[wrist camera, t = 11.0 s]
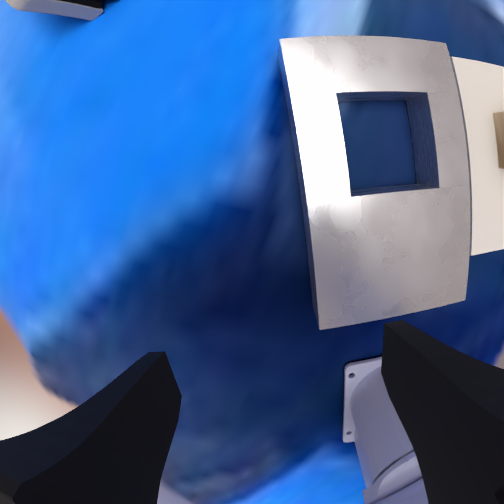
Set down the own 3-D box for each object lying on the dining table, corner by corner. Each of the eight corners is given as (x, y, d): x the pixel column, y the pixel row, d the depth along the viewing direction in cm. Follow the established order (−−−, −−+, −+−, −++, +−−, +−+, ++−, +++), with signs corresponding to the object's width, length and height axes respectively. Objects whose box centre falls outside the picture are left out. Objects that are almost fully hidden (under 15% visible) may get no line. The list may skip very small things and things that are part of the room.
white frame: (444, 283, 19) (465, 300, 16) (312, 307, 20) (319, 330, 17) (424, 55, 15) (445, 43, 12) (277, 56, 16) (279, 39, 13)
